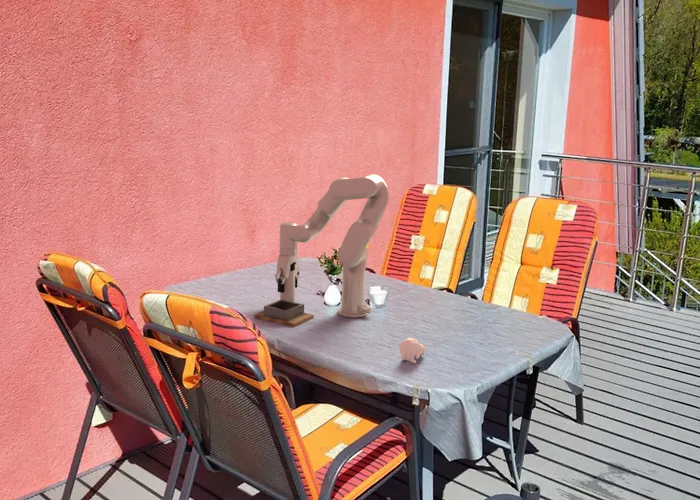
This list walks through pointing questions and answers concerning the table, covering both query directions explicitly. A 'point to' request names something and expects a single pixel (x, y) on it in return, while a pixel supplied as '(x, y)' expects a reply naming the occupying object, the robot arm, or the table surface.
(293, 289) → the travel mug
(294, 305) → the gray square tray
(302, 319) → the walnut stand
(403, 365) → the table surface
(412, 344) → the pink animal figurine
